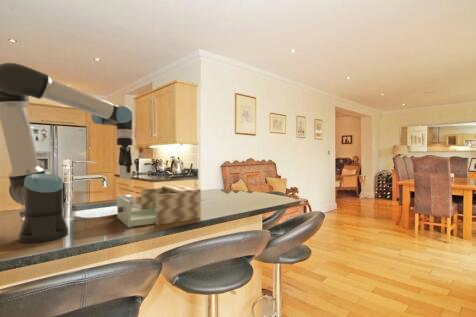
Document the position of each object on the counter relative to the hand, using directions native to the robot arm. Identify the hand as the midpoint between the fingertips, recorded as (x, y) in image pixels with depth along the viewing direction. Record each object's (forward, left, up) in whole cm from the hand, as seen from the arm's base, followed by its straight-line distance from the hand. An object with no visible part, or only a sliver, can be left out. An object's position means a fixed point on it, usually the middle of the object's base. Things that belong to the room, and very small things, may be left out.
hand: (125, 178), depth 143 cm
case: (+16, -21, -18) cm, 32 cm away
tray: (+6, -21, -18) cm, 28 cm away
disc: (0, 0, -11) cm, 11 cm away
